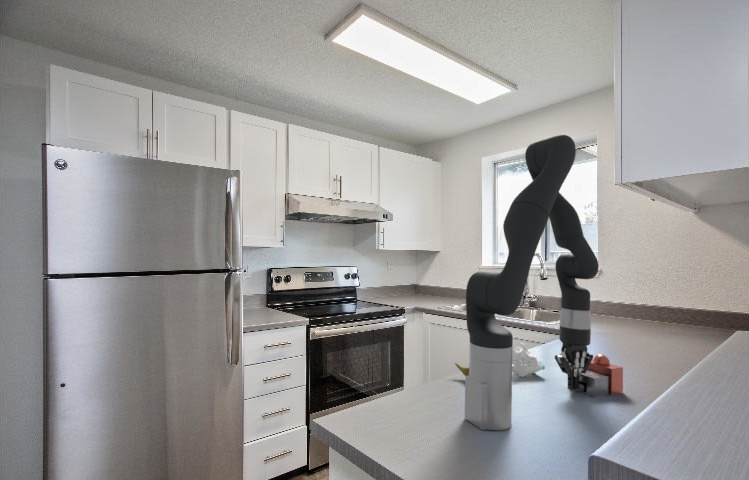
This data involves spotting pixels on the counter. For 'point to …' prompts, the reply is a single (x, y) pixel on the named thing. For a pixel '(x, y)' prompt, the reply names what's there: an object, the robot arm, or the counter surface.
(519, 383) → the counter surface
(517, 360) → the jaw support
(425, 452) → the counter surface
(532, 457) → the counter surface
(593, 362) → the red domed block
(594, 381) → the block
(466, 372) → the neti pot
